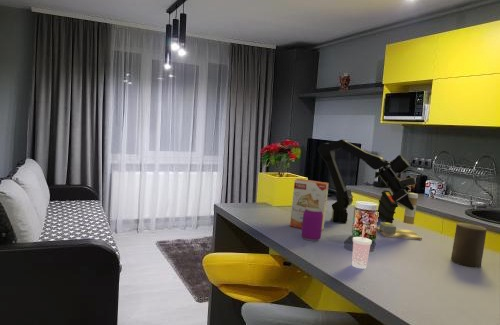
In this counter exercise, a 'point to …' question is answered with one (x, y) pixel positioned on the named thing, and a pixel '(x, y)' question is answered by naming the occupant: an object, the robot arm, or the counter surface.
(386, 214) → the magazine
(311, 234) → the beverage can
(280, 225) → the counter surface
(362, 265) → the beverage cup
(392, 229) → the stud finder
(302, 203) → the cracker box
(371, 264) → the counter surface
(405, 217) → the sprinkles bottle
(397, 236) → the plywood board
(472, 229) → the pillar candle
